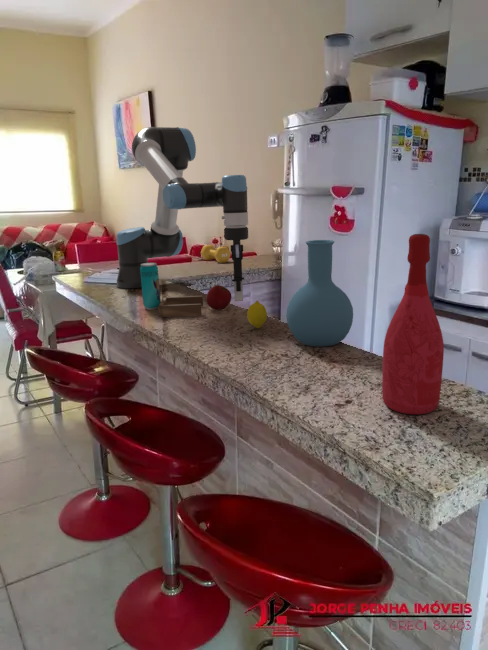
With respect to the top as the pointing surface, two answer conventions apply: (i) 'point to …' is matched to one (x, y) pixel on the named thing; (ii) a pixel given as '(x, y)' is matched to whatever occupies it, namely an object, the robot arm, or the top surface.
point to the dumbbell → (215, 253)
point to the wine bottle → (414, 342)
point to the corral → (180, 306)
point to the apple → (218, 297)
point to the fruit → (257, 314)
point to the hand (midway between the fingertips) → (238, 300)
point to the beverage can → (150, 285)
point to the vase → (319, 302)
